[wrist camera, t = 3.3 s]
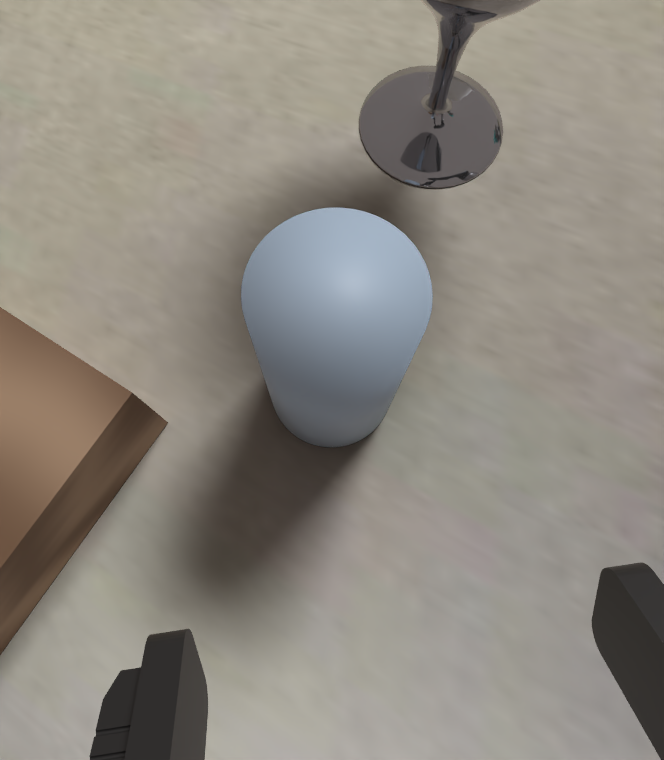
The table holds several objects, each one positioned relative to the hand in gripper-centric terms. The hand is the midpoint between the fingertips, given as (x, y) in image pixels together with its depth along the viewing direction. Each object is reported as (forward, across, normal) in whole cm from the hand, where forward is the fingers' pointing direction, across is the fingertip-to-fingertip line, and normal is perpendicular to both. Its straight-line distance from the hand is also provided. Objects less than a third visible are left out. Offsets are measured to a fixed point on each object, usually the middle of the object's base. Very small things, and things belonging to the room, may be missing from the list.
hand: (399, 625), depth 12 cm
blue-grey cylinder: (+15, 0, +3) cm, 15 cm away
